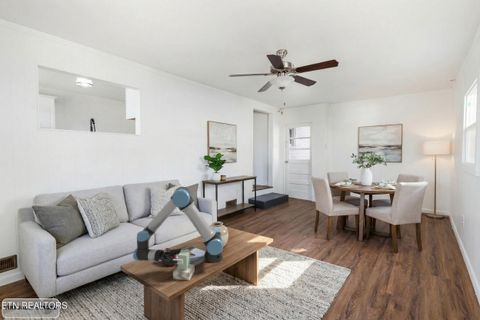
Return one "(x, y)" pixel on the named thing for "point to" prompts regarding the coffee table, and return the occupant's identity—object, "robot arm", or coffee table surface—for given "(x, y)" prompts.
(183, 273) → the off-white base block
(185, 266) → the sage green block
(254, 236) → the coffee table surface
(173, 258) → the red grape bunch
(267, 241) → the coffee table surface
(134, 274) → the coffee table surface
